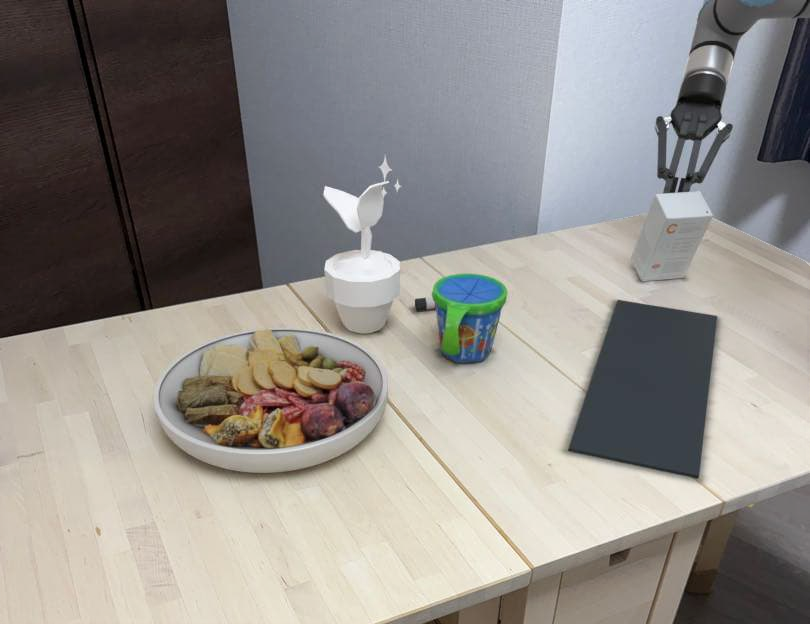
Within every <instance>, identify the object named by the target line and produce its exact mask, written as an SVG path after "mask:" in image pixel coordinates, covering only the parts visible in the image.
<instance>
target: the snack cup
mask: <svg viewBox="0 0 810 624" xmlns="http://www.w3.org/2000/svg"><path fill="white" fill-rule="evenodd" d="M508 294H509V293H508V288H507V287H506V285H505V284H504V283H503V282H502V281H500V280H499V279H497V278H494V277H491V276H489V275H484V274H479V273H454V274H450V275H447V276H444V277H442V278H441V277H440V278H439V279H438V280H437V281H436V282H435V283H434V284H433V288H432V292H431V297H432V298H433V300H434V302H435V305H436V309H435V312H436V321H437V330H438V339H439V348H440V352H441V354H442V355H444V356H445V357H446V358H447V359H449V360H451V361H454V362H455V363H457V364H460V363H466V364H471V363H477V362H482V361H484V360H485V359H486V358H487V357H488V356H489V355H490V354H491V351H492V348H493V344H494V341H495V339H496V334H497V330H498V326H499V323H500V318H501V313H502V309H503V308H504V306H505V304H506V302H507V298H508Z"/></svg>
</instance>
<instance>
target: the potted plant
mask: <svg viewBox="0 0 810 624" xmlns="http://www.w3.org/2000/svg"><path fill="white" fill-rule="evenodd" d="M386 155H387V154H384V159H383V162H382V164H381V165H379V166H378V168H379V169H380V170H381V172H382V176H383V181H381V182H378V183H374V184H371V185H369V186H368V187H367V188H366V189H365V190H364V191H363V192H362V194H361V195H359V196H358V197H357V196H355V195H352V194H351V193H348V192H346V191H343V190H341V189H337V188H333V187H330V186H327V185H324V188H323V189H324V190H323V198H324V199H325V200H326V202H327V203H328V204H329V205H330V206H331V207H332V208H333V209H334V211H335V212H336V213H337V215H339V217H340V219H341V220H342V222H343V223H344V225H345V227H346V228H347V229H348V230H350V231H351V232H353V233H354V234H357V233H359V232H360V234H361V236H360V238H361V241H360V249H353V250H348V251H343V252H339V253H336V254H334V255H332V256H331V257H330V258H328V259H326V260H325V264H324V268H323V269H324V270H323V271H324V286H325V295H326V296H327V297H328V298H329V299H331V301H333V303H334V305H335V308H336V310H337V313H338V315H339V317H340V320H341V323H342V325H343V326H344V328H346V329H347V330H348V331H350V332H353V333H356V334H372V333H375V332H378V331H380V330H381V329H383V328H384V327H385V325H386V323H387V319H388V317H389V313H390V311H391V308H392V304H393V301H394V300H396V299H397V298H398V297H399V296H400V295H401V289H400V288H401V283H400V282H401V261H400V260H398V259H397V258H396V257H394V256H393V255H392V254H390V253H386V252H384V251H383V252H382V250H374V249H371V248H372V239H373V233H372V231H371V228H372V227H373V226H375V225H377V223H378V222H379V220H380V219H381V217H382V216H383V210H384V205H385V204H384V202H385V201H384V199H385V196H386V195H387V194H388V193H389V192H387V191H386V189H385V185H387V184H389V183H390V181H389V180H386V179H387V174H388V173H389V172H390V171H391V172H392V171H393V169H392V168H390V167H389V165H388V161H387V156H386ZM393 186H394V188H395V190H396V193H398V191H399V189H400V188H402V187H403V186H402V185H400V183H399V179H398V178H397V180H396V182H395V184H393Z"/></svg>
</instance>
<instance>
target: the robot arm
mask: <svg viewBox="0 0 810 624" xmlns="http://www.w3.org/2000/svg"><path fill="white" fill-rule="evenodd" d="M700 7H701V8H700V9H699V11H698V15H697V19H696V26H695V28H694V29H695V30H694V34H693V37H692V42H691V45H690V49H689V53H688V57H687V59H686V65H685V67H684V68H685V69H684V72H683V77H682V82H681V85H680V88H679V92H678V96H677V99H676V104H675V106H674V108H673V109H672V110H671V112H670V114H668V115H666V116H664V117H663V116H662V115H659V116H657V117H656V119H655V125H654V130H655V133H656V135H657V166H656V167H657V168H656V176H657V178H658V179H660V180H661V179H662V180H664V181H665V184H664V187H663V191H662V194H665V193H680V192H691V187H692V185H694V184H699V185H701V184H702V183H703V182H704V180H705V178H706V176H707V174H708V172H709V170H710V169H711V166H712V165H713V163H714V160H715V159H716V157H717V155H718V154H719V151H720V149H721V147H722V145H723V144H724V143H725V142H726V141H727V140H728V139H729V138H730V137H731V135H732V131H733V127H734V125H733V123H726V122H724V121H723V120H722V119H723V115H722V107H723V103H724V99H725V95H726V92H727V86H728V83H729V79H730V77H731V72H732V68H733V65H734V61H735V57H736V52H737V49H738V45H739V42H740V40H741V38H743V36H744V35H745V34H747V32H748V31H750V30H751V29H752V28H753V26H754V25H756V24H757V22H759V21H760V20H775V19H776V20H777V19H778V20H779V19H810V0H703V2H702V4H701V6H700ZM670 125H671V126H672V128H673V130H674V132H675V134H676V136H677V141H676V144H675V147H674V152H673V154H672V159H671V162H670V164H669V168H668V167H667V141H668V138H667V137H668V131H669V129H670ZM715 130H716V131H715ZM714 131H715V138H714V140H713V142H712V144H711V146H710V148H709V150H708V152H707V154H706V156H705V157H704V159H703V162H702V164H701V166H700V167H699V170H698V171H696V167H697V163H698V158H699V155H700V151H701V146H702V141H703V140H705V139H706V138H707V137H708V136H709V135H711V133H713V132H714ZM689 140H690V141H692V142H693V143H692V147H691V153H690V157H689V161H688V164H687V165H688V166H687V170H686V174H685V177H681V178H680V177H677V176H676V174H677V172H678V167H679V164H680V160H681V157H682V154H683V151H684V148H685V147H684V146H685V143H686V141H689ZM679 178H680V181H679ZM678 183H679V185H678ZM677 186H678V187H677ZM676 191H677V192H676Z"/></svg>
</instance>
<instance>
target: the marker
mask: <svg viewBox="0 0 810 624" xmlns="http://www.w3.org/2000/svg"><path fill="white" fill-rule="evenodd" d="M414 308H415V311H416V312H418V311H432V310H436V305H435V302H434V300H433V298H432V296H426V297H420V298H419V297H418V298H415V299H414Z"/></svg>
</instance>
